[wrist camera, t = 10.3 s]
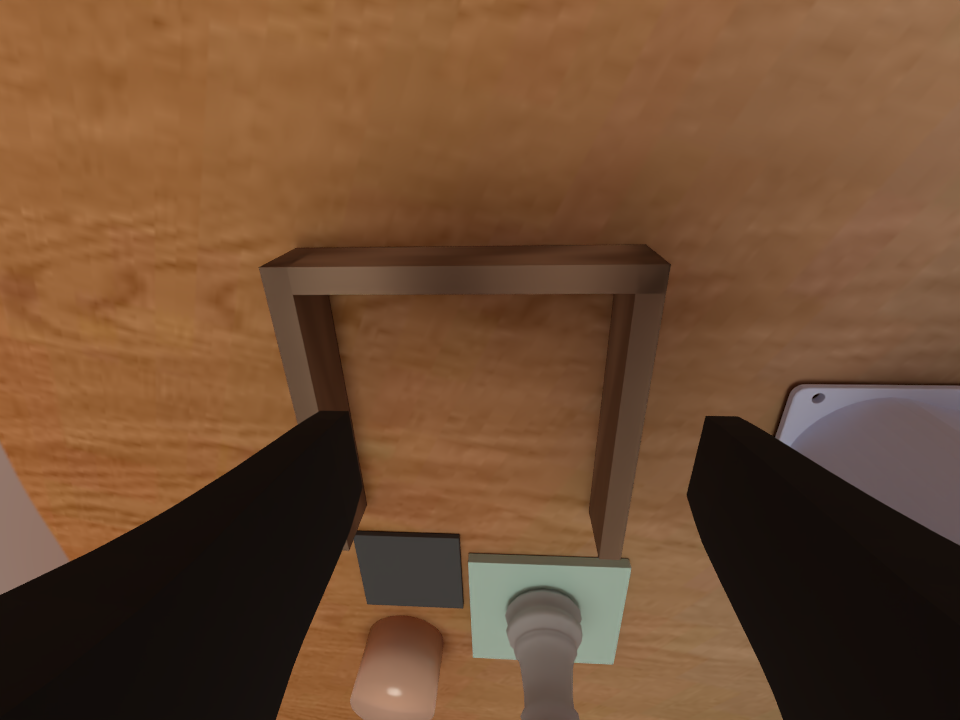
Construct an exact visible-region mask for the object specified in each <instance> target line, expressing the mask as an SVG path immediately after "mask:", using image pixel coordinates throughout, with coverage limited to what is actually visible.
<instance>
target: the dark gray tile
mask: <svg viewBox="0 0 960 720" xmlns="http://www.w3.org/2000/svg"><path fill="white" fill-rule="evenodd" d="M354 543H355V548H356V553H357V558H358V562H359V567H360V572H361V577H362V581H363V586H364V591H365V596H366V600H367V604H372V605H396V606H419V607H442V608H463V604H464V603H463V587H462V570H461V554H460V538H459V534H433V533H402V532H371V531H357V532H356V534H355V537H354Z"/></svg>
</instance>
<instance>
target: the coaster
mask: <svg viewBox="0 0 960 720" xmlns="http://www.w3.org/2000/svg"><path fill="white" fill-rule="evenodd" d="M468 568H469V588H470V607H471V627H472V646H473V658H493V659H513V660H517V659H516V657H515V654H514V649H513V648H512V647H511V646H510V643H509V640H508V636H507V633H506V629H507V626H508V625H507V621H506V618H505V614H506V611H507V608H508V606H509V605H510V604H511V603H512V601H513V600H514V599H515V598H517V597H518V596H519V595H520V594H522V593H524V592H527V591H529V590H534V589H549V590H555V591H558V592H560V593H562V594H564V595H566V596H568V597H569V598H570V599H571V600H572V601H573V603H574V604H575V605H576V606H577V607H578V608H579V609H580V613H581V618H582V620H581V622H580V625H581V628H582V634H583V636H582V642H581V644H580V646H579V648H578V650H577V654H578V655H577V657H576V659H575V661H574V663H593V664H613V663H614V658H615V653H616V647H617V642H618V637H619V631H620V626H621V621H622V615H623V610H624V604H625V599H626V594H627V588H628V583H629V578H630V572H631V565H630V562H629V559H621V560H603V559H599V558H587V557H559V556H530V555H501V554H472V553H469V559H468Z"/></svg>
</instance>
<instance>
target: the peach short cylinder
mask: <svg viewBox="0 0 960 720" xmlns="http://www.w3.org/2000/svg"><path fill="white" fill-rule="evenodd" d="M443 644H444V641H443V637H442V635H441V633H440V632H439V631H438V630H437V629H436V628H435V627H434V626H433V625H431V624H430V623H428V622H426V621H424V620H421V619H419V618H415V617H410V616H390V617H386V618H383V619H381V620H379V621H377V622H376V623H375V624H374V625H373V626H372V627H371V629H370V632H369V636H368V639H367V643H366V646H365V650H364V653H363V657H362V660H361V664H360V667H359V671H358V674H357V678H356V681H355V685H354V688H353V692H352V695H351V699H350V703H351V706H352V709H353V710H354V711H355V713H356V714H357V715H358V716H360V717H361V718H362V719H364V720H431V719H432V718H433V716H434V712H435V705H436V697H437V690H438V682H439V675H440V667H441V660H442V652H443Z"/></svg>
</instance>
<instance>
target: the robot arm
mask: <svg viewBox="0 0 960 720" xmlns="http://www.w3.org/2000/svg"><path fill="white" fill-rule="evenodd" d="M818 393H819V395H818V396H817V397H816V398H813V399H812V397H813V396H814V395H816V394H818ZM362 488H363V486H362V480H361V475H360V470H359V464H358V459H357V453H356V448H355V442H354V437H353V432H352V426H351V421H350V415H349V411H319V412H317V413H315V414H314V415H312V416H310V417H309V418H307V419H306V420H304V421H303V422H301V423H300V424H298V425H297V426H295V427H294V428H292V429H291V430H289V431H288V432H286V433H285V434H283V435H282V436H281V437H279V438H278V439H276V440H275V441H273V442H272V443H270V444H269V445H267V446H266V447H265V448H263V449H262V450H260V451H259V452H257V453H256V454H254V455H253V456H251V457H250V458H248V459H247V460H245V461H244V462H242V463H241V464H240V465H238V466H237V467H235V468H234V469H232V470H231V471H229V472H227V473H226V474H224V475H223V476H221V477H219V478H218V479H216V480H215V481H213V482H211V483H210V484H208V485H207V486H205V487H204V488H202V489H200V490H199V491H197V492H196V493H194V494H192V495H191V496H189V497H188V498H186V499H185V500H183V501H181V502H180V503H178V504H176V505H175V506H173V507H171V508H170V509H168V510H166V511H165V512H163V513H161V514H159V515H158V516H156V517H154V518H152V519H151V520H149V521H147V522H145V523H144V524H142V525H140V526H138V527H136V528H134V529H133V530H131V531H129V532H127V533H125V534H123V535H121V536H120V537H118V538H116V539H114V540H112V541H110V542H108V543H107V544H105V545H103V546H101V547H99V548H97V549H95V550H93V551H91V552H89V553H87V554H85V555H83V556H81V557H79V558H77V559H75V560H73V561H70V562H68V563H67V564H64V565H62V566H60V567H58V568H56V569H54V570H52V571H50V572H48V573H45V574H43V575H41V576H39V577H37V578H35V579H33V580H31V581H29V582H27V583H25V584H23V585H20V586H19V587H16V588H14V589H12V590H10V591H8V592H6V593H4V594H1V595H0V720H276V717H277V714H278V711H279V708H280V705H281V702H282V699H283V696H284V693H285V690H286V687H287V684H288V681H289V678H290V675H291V672H292V669H293V666H294V663H295V661H296V658H297V656H298V653H299V651H300V648H301V645H302V643H303V640H304V638H305V636H306V633H307V631H308V629H309V626H310V624H311V622H312V619H313V617H314V615H315V612H316V610H317V608H318V606H319V603H320V601H321V599H322V596H323V594H324V592H325V589H326V587H327V585H328V582H329V580H330V578H331V575H332V573H333V571H334V569H335V566H336V564H337V561H338V559H339V557H340V554H341V552H342V550H343V547H344V545H345V543H346V540H347V538H348V535H349V533H350V530H351V527H352V523H353V520H354V517H355V513H356V510H357V506H358V502H359V499H360V495H361V491H362ZM687 498H688V501H689V505H690V508H691V511H692V514H693V517H694V521H695V524H696V526H697V529H698V532H699V535H700V538H701V541H702V543H703V546H704V548H705V550H706V552H707V554H708V556H709V559H710V561H711V563H712V565H713V567H714V569H715V571H716V573H717V575H718V578H719V580H720V582H721V584H722V586H723V588H724V590H725V592H726V594H727V596H728V598H729V600H730V602H731V604H732V607H733V609H734V611H735V613H736V615H737V617H738V619H739V621H740V623H741V625H742V627H743V629H744V631H745V633H746V635H747V637H748V639H749V642H750V644H751V646H752V648H753V650H754V652H755V654H756V656H757V658H758V660H759V662H760V664H761V667H762V669H763V671H764V673H765V676H766V678H767V680H768V683H769V685H770V687H771V689H772V692H773V694H774V697H775V699H776V702H777V705H778V707H779V710H780V712H781V715H782V718H783V720H960V386H950V385H844V384H802V385H799V386H797V387H795V388H794V389H793V390H792V391H791V392H790V394H789V397H788V400H787V403H786V406H785V409H784V412H783V415H782V418H781V421H780V424H779V427H778V430H777V433H776V436H775V437H773V436H772V435H770V434H768V433H767V432H765V431H763V430H762V429H760V428H758V427H757V426H755V425H753V424H751V423H749V422H748V421H746V420H744V419H742V418H740V417H736V416H706V417H705V421H704V425H703V429H702V434H701V438H700V442H699V446H698V450H697V454H696V458H695V462H694V467H693V471H692V475H691V479H690V483H689V487H688V491H687Z"/></svg>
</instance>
